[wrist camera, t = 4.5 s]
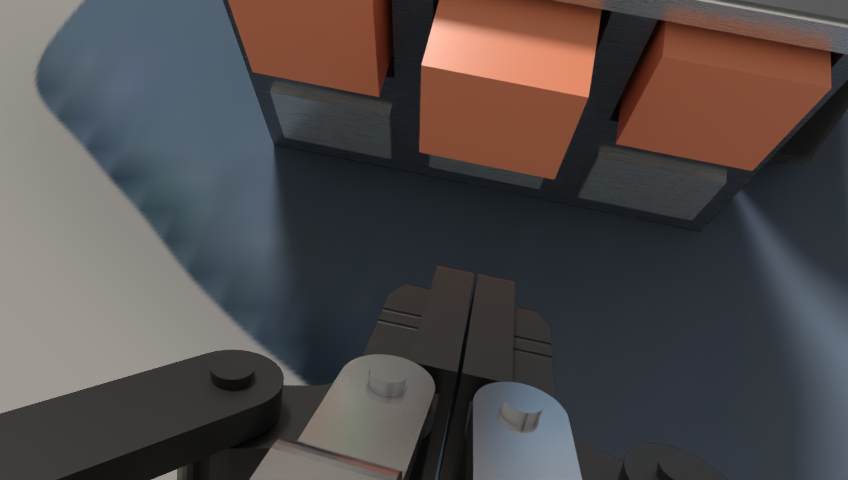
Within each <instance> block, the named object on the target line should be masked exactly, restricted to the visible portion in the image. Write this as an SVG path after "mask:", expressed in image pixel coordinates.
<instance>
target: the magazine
mask: <svg viewBox="0 0 848 480" xmlns="http://www.w3.org/2000/svg"><path fill="white" fill-rule="evenodd" d="M847 108H848V80H847V81H846V82H845V83H844V84H843V85H842V86H841V87H840V88H839V89H838V90H837V91H836V92H835V93H834V94H833V95H832V96H831V97H830V98H829V99H828V100H827V101H826V102H825V103H824V104H823V105H822V107H821V108H820V109H819V110H818V111H817V112H816V113H815V114H814V115H813V116H812V117H811V118H810V119H809V120H808V121H807V122H806V123H805V124H804V125H803V126H802V127H801V128H800V129H799V130H798V131H797V132H796V133H795V134H794V135H793V136H792V137H791V138H790V139H789V140H788V141H787V142H786V143H785V145H784V146H783V147H782V148H781V149H780V150H779V151H778V152H777V153H776V154H775V155H774V156H773V157H772V158H771V159H770V160H769V161H774V162H779V163H783V164H787V163H788V162H789V161H790V162H795V163H800V164H804V163H806V162H809V160H810V159H811V158H812V156H813V155H814V154H815V152H816V151H817V149H818V148H819V147H820V145H821V144H822V143H823V141H824V140H825V138H826V137H827V136H828V134H829V133H830V132H831V130H832V129H833V128H834V126H835V125H836V123H837V122H838V121H839V119H840V118H841V117H842V115H843V114H844V112H845V111H846V110H847Z"/></svg>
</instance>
